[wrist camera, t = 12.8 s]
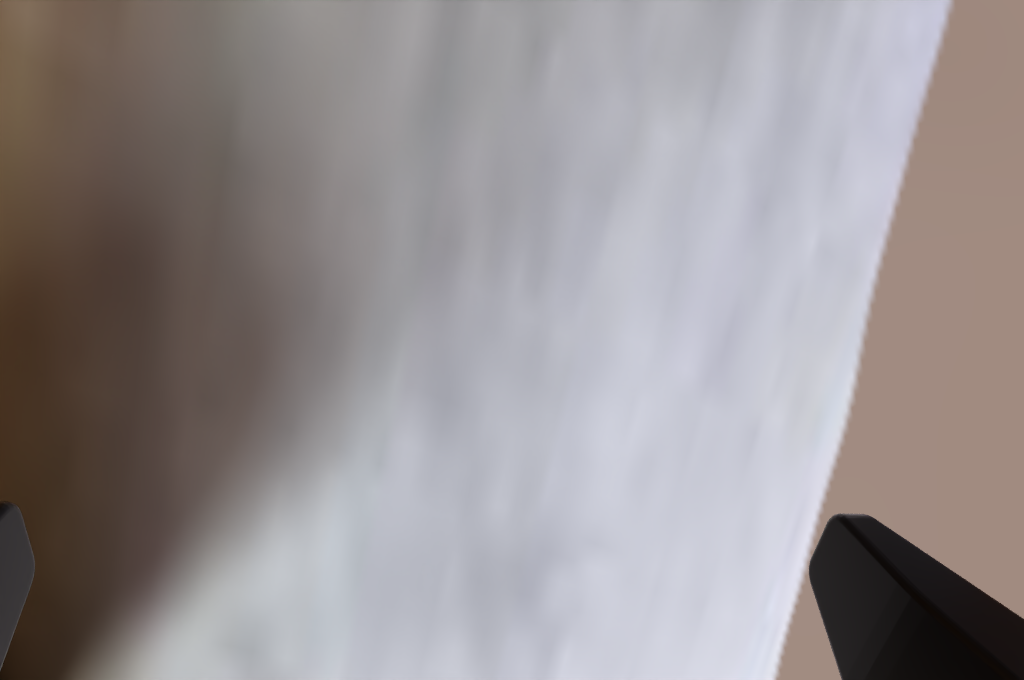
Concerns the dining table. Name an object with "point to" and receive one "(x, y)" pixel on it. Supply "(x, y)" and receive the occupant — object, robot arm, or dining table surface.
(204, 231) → the dining table surface
